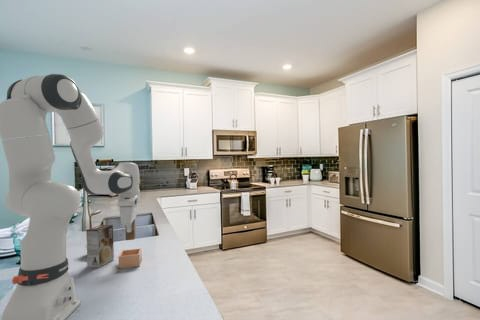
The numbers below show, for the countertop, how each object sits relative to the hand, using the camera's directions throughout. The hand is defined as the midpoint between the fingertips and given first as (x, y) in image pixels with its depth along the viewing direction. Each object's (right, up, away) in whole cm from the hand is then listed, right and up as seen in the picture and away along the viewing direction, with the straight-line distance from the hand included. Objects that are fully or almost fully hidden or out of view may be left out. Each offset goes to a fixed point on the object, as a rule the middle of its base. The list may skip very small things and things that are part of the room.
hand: (130, 230), depth 113 cm
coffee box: (-14, -15, +1) cm, 20 cm away
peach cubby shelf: (0, -15, 0) cm, 15 cm away
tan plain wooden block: (0, -4, 0) cm, 4 cm away
